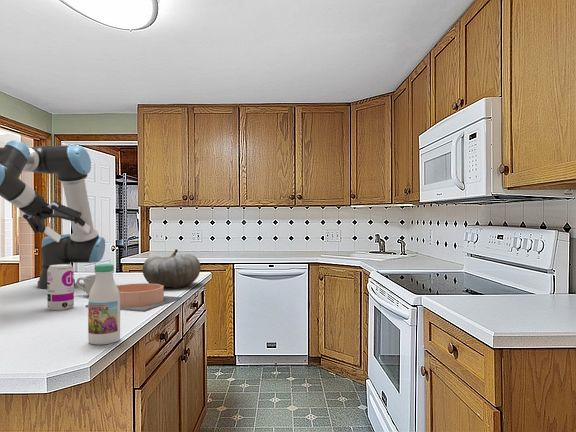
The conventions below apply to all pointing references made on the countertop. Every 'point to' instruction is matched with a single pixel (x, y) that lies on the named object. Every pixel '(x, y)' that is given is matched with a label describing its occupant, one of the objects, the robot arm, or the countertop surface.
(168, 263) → the gourd
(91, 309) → the milk bottle
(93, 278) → the teacup
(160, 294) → the peach faceted bowl
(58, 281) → the supplement can
